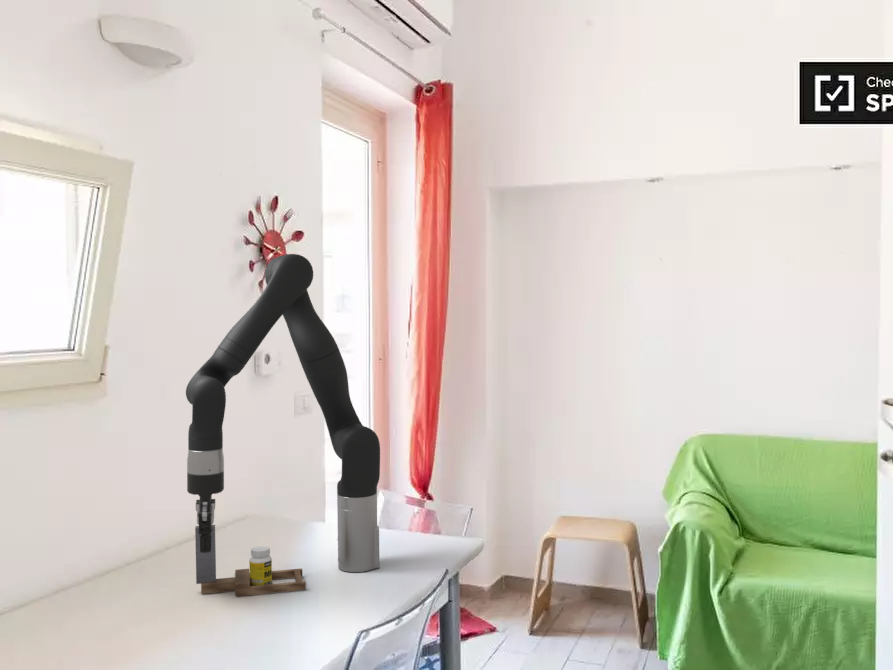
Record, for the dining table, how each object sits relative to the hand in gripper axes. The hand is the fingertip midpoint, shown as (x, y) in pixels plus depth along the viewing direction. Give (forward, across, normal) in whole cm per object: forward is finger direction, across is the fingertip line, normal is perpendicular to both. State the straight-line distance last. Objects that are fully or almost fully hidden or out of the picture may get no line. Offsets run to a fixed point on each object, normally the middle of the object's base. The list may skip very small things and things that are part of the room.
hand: (205, 550), depth 173 cm
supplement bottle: (+9, 0, -12) cm, 15 cm away
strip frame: (+9, 0, -9) cm, 13 cm away
